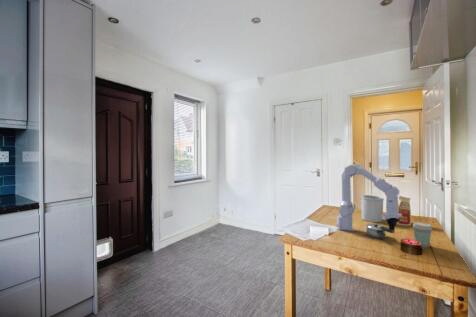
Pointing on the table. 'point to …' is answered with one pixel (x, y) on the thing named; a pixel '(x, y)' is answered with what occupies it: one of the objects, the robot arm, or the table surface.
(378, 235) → the pot
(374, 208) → the utensil holder
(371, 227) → the lid
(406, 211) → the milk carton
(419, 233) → the coffee cup
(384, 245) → the table surface
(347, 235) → the table surface
